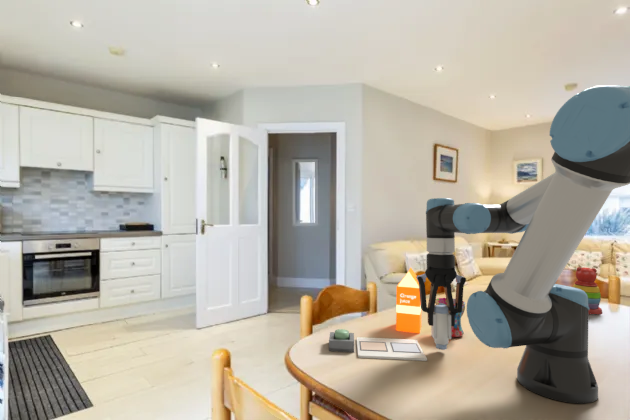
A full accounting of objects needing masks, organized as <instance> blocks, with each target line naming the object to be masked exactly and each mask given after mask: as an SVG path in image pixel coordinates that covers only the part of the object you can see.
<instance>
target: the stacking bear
mask: <svg viewBox="0 0 630 420" xmlns="http://www.w3.org/2000/svg"><path fill="white" fill-rule="evenodd" d="M575 277H576V279H577V280H575V281H574V284H573V286H572V287H574V288H578V289H581V290H583V291H584V292H585V293H586V294H587V296H588V307H589V310H588V315H591V314H597V315H601V314H602V313H603V309H602V308H601V307H600V303H601V301H602V300H601V299H602V298H601V297H602V294H601V292H600V287H599V286H598V284H597V283H596V280H597V269H596V268H593V267H592V268H591V267H581V266H578V267H576V271H575Z"/></svg>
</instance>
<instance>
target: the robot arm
mask: <svg viewBox="0 0 630 420" xmlns="http://www.w3.org/2000/svg"><path fill="white" fill-rule="evenodd" d="M549 136H550V137H551V139H550V145H551V147H552V149H553V151H554V152H553V154H552V156H551V163H552V165H553V166H554V169H555V172H554V173H552V174H550V175H549V176H547V177H545V178H543V179H542V180H540V181H538V182H537V183H535V184H533V185H532V186H529V187H528V188H526V189H524V190H523V191H521V192H520V193H518V194H516V195H514V196H513V197H511V198H509V199H507V200H505V201H503V202H502V203H497V204H493V203H492V204H491V203H490V204H489V203H486V204H485V203H483V204H482V203H476V202H466V203H458V204H455V200H454V199H453V198H451V197H450V198H448V197H437V198H429V199H428V200H427V201H426V208H425V209H426V210H425V221H426V222H425V224H426V229H425V230H426V252H427V254H426V270H425V271H424V273H422V274H420V275H417V274H416V279H417V281H418V283H419V292H420V304H421V309H422V312H424V313H427V324H428V326H430V327H431V329H430V330H431V331H430V332H431V334H430V335H431V337H432V338H433V340H434V339H437V336H436V315H435V314H434V307H435V305H436V303H435V301H436V299H437V295H438V290H439V288H441V287H443V289H444V294H445V298H446V300H447V306H448V311H449V313H448V339H449V340H452V337H451V326H454V325H455V315H456V313H461V312H462V302H463V301H464V299H463V297H464V285H465V284H466V281H467V278H466V277H465V276H462V275H459V274H458V273H457V271H456V256H455V254H454V253H455V252H456V248H455V247H456V246H455V245H456V244H455V243H456V241H455V238H456V237H455V233H457V234H458V233H459V234H467V235H476V234H517V233H523V232H524V233H523V235H522V236H521V238H520V240H519V242H518V243H517V246H516V247H515V248H516V249H515V250H514V252H513V254H512V256H511V257H510V260H509V262H508V264H507V266H506V268H505V270H504V271H503V272H498V273H496V274H494V275H493V276H492V278H491V280H490V281H489V283H488V286H487V288H486V289H485V290H477V291H476V292H475V291H474V292H473V293H472V294H470V296H469V297H468V298H467V303H466V316H467V319H468V324H469V326H470V329H471V330H472V332H473V334H474V335H475V337H476V338H477V339H478V340H479V341H480V342H481V343H482V344H483V345H485V346H486V347H488V348H493V349H504V350H505V349H509V348H514V347H522V346H523V347H525V348H524V351H523V353H522V356H521V359H520V361H519V363H518V366H517V370H516V377H517V378H516V379H517V381H518V382H519V384H520V385H521V386H523V387H524V388H525V389H527V390H528V391H531V393H534V394H536V395H539V396H542V397H545V398H547V399H550V400H555V401H558V402H563V403H568V404H590V403H594V402H595V401H597V400H598V398H599V385H598V382H597V380H596V377H595V374H594V371H593V369H592V365H591V362H590V360H589V314H588V310H589V307H588V296H587V294H586V293H585V292H584V291H583V290H581V289H578V288H574V287H573V286H570V285H569V286H568V285H564V284H559V283H557V281H558V279H559V278H560V276H561V275H562V274H563V272H564V270H565V268H566V266H567V265H568V264H569V262H570V260H571V258H572V257H573V256H574V253H575V252H576V250H577V248H578V247H579V245H580V244H581V242H582V241H583V240H584V237H585V236H586V234H587V232H588V231H589V229H590V228H591V226H592V224H593V223H594V221H595V219H596V218H597V216H598V214H599V213H600V211H601V209H602V208H603V206H604V204H606V201H607V200H608V198H609V196H610V195H611V193H612V192H613V190H615V189H617V188H621V187H624V186H628V185H629V184H630V85H620V84H618V85H607V84H605V85H595V86H593V87H589V88H586V89H584V90H581V92H579V93H576V94H574V95H573V96H572V97H570V98H569V99H568V100H567V101H565V102H564V104H563V105H562V106H561V107H560V108H559V109H558V111H557V112H556V114H555V115H554V117H553V119H552V121H551V124H550V129H549ZM426 279H428V281H429V282H430V289H429V290H430V291H429V296H428V297H429V298H428V303H427V293H426V285H425V283H426V281H427V280H426ZM454 281H455V282H456V285H455V297H454V298H453V293H452V292H453V291H452V285H451V284H452V283H453V282H454ZM453 299H455V308H454V303H453Z"/></svg>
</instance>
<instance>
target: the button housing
mask: <svg viewBox="0 0 630 420" xmlns="http://www.w3.org/2000/svg"><path fill="white" fill-rule="evenodd" d="M336 351H338V352H337V353H339V352H340V353H355V333H354V332H349V339H348V340H343V339H335V331H330V332H329V340H328V352H336Z"/></svg>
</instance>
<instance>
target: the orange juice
mask: <svg viewBox="0 0 630 420" xmlns="http://www.w3.org/2000/svg"><path fill="white" fill-rule="evenodd" d="M416 276H417V274H416V273H415V271H414V270H413V268H412V267H410V268H409V269H408V270H407V272H406V274H405V275H404V276H403V277H402V279H401V280H400V281H399V282H398V284H397V285H396V305H395V306H396V307H395V309H396V310H395V311H396V312H395V313H396V315H395V318H396V319H395V331H396V332H397V331H398V332H404V333H405V332H406V333H414V334H420V333H421V329H422V312H423V310H422V309H421V304H420V292H419V283H418V281H417V279H416Z"/></svg>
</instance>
